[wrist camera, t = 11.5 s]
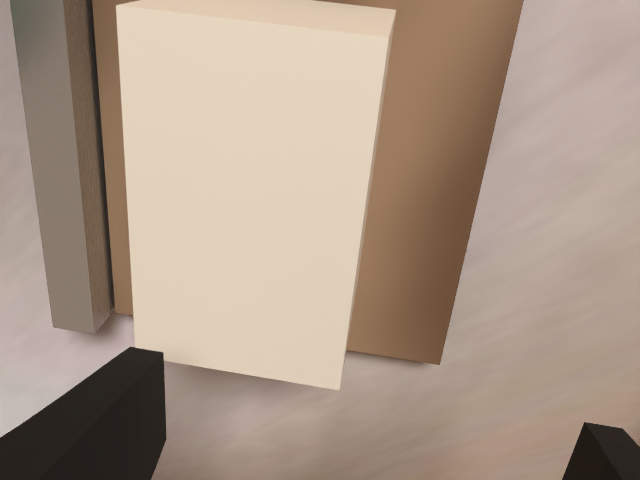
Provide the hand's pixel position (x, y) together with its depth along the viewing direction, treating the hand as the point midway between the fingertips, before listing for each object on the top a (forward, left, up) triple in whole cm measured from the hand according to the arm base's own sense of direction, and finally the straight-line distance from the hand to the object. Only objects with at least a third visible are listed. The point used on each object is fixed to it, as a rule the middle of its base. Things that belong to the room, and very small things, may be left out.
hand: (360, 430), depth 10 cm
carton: (+3, -2, -8) cm, 9 cm away
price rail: (+9, -2, -9) cm, 13 cm away
